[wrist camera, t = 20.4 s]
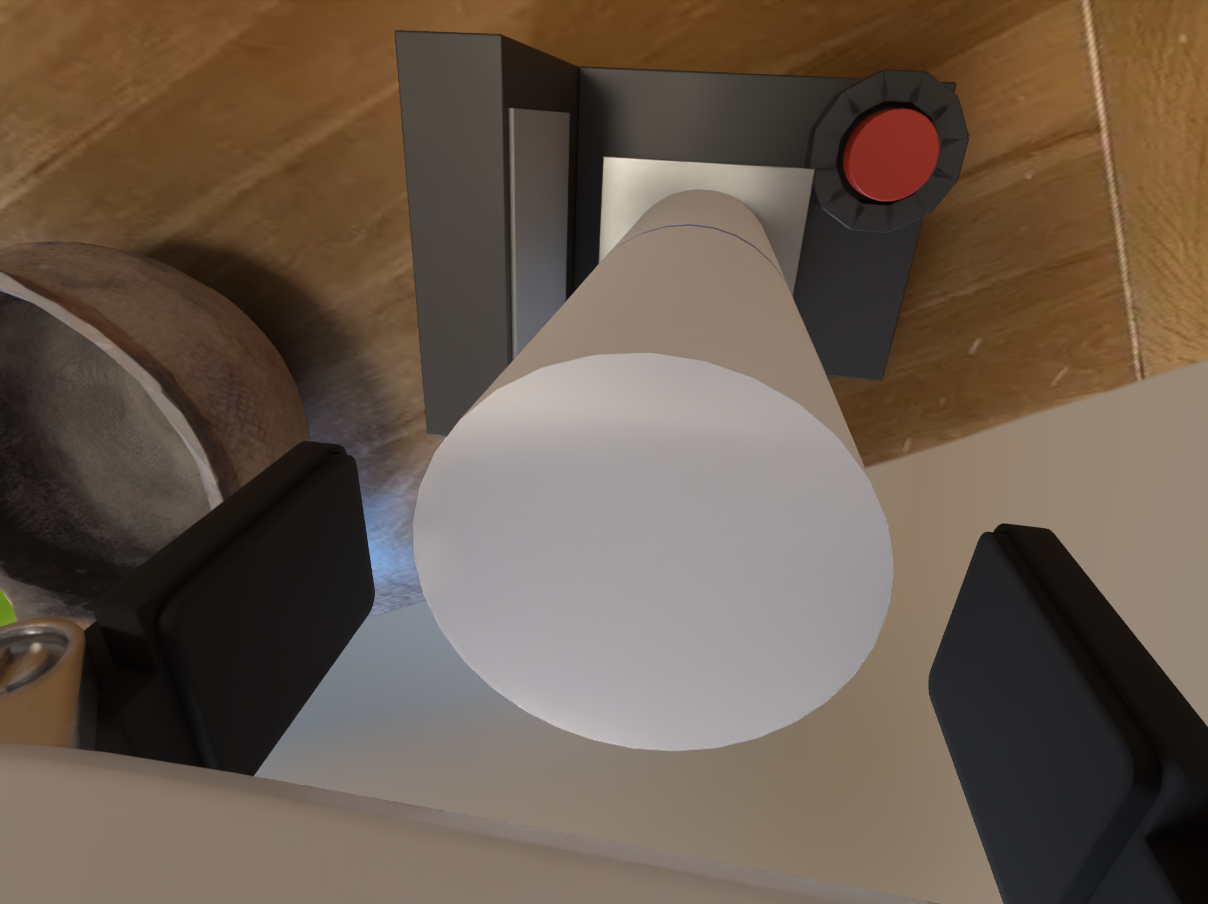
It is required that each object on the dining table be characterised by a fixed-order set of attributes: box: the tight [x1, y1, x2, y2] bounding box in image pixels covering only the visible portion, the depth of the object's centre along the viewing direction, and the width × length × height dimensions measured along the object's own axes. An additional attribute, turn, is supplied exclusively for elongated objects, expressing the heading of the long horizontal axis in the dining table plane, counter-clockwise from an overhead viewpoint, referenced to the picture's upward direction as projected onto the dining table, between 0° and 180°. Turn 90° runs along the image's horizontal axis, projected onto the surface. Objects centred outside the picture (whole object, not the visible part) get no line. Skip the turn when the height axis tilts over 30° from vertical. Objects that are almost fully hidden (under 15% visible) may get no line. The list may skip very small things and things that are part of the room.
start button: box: [843, 108, 939, 201], centre depth 29 cm, size 4×4×2 cm
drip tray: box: [598, 156, 815, 297], centre depth 32 cm, size 10×10×1 cm
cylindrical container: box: [413, 189, 894, 751], centre depth 21 cm, size 7×7×25 cm
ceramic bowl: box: [0, 242, 310, 631], centre depth 39 cm, size 22×22×15 cm
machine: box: [573, 67, 969, 381], centre depth 34 cm, size 18×14×4 cm
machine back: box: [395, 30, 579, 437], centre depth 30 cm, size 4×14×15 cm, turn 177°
